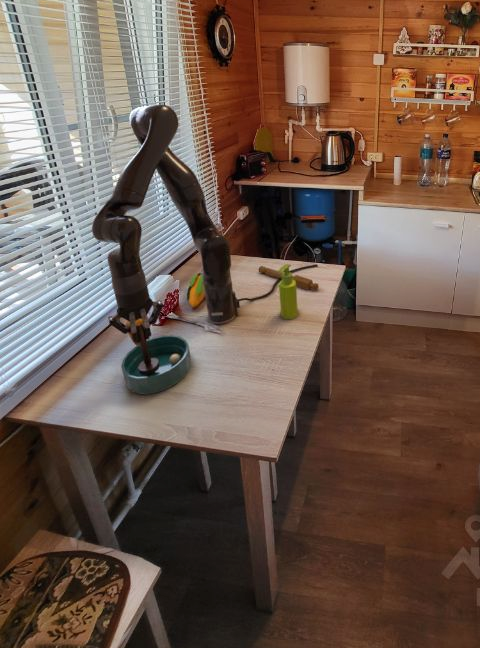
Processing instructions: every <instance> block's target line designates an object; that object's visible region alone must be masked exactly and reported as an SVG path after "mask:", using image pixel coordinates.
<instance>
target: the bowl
mask: <svg viewBox="0 0 480 648" xmlns="http://www.w3.org/2000/svg"><path fill="white" fill-rule="evenodd" d="M147 344H148V348H149V352H150V357H151V358H156V359H158V361H159V368H158V370H157V371H156V372H154V373H152V374H150V375H141V374H140V373H139V369H138V366H139V364H140V363H141V362H142V361H144V360H143V355H142V351H141V347H140V344H139V345H137V346H136V345H135V346H134V347H133V348H131V350H130V351H128V352H127V353H126V355H125V356H124V358H123V359H122V362H121V365H120V368H121V371H122V375H123V379H124V382H125V386H126V388H127V389H129V390H130V392H132V393H134V394H135V393H136V394H138V395H149V394H155V393H158V392H159V393H160V392H163V391H164V390H167V389H169V388H171V387H172V386H175V385H176V384H178V382H180V381H182V379H184V377H185V376H186V375H187V374H188V372H189V371H190V368H191V367H192V357H191V352H190V346H189V343H188V341H187V340H186V339H185V338H183V337H181V336H178V335H173V334H170V335H160V336H155V337H152V338H149V339H147ZM173 354H178V355H179V356H180V361H179V362H178V363H177V364H175V365H173V364H171V363H170V361H169V359H170V357H171V355H173Z"/></svg>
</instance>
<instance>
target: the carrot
mask: <svg viewBox="0 0 480 648" xmlns="http://www.w3.org/2000/svg"><path fill="white" fill-rule="evenodd" d="M135 322H136V326H137V325H138V324H142V325H143V321H142V319H138V320H136V321H135ZM125 325H126V326H129V321H127V320H126V323H125ZM128 336H129V338H130V340H131V341H132V343H133V344H134V345H135V347H136V346H137V345H139V344H140V343H137V342H134V341H133V339H132V335H131V333H128Z"/></svg>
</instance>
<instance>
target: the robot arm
mask: <svg viewBox="0 0 480 648" xmlns="http://www.w3.org/2000/svg"><path fill="white" fill-rule="evenodd" d="M129 124H130V128H131V130H132V132H133V134H134V136H135V137H136V139H137V141H138V142H139V143H140V145H141V147H140V149H139V150H138V151H136V152H137V153H136V154H135V155H134V156H133V157H132V158H131V159H130V161H128V163H127V164H126V165H125V166H124V168H123V169H122V171H121V173H120V174H119V177H118V179H117V182H116V184H115V186H114V190H113V192H112V195H111V196H110V198H108V200H106V202H105V204H104V205H103V206H102V208H101V209H100V210H99V211H98V213H97V214H96V215H95V217H94V218H93V221H92V225H91V233H92V236H93V237H94V239H95V240H96V241H99V242H101V243H109V244H118V245H119V247H118V248H115V249H113V250H111V251H110V252H109V253H108V254H107V257H106V258H107V265H108V269H109V273H110V276H111V277H110V278H111V285H112V286H111V287H112V289H113V290H112V291H113V292H114V297H115V301H116V305H117V309H116V313H115V314H114V315H110V316H108V318H107V320H108V323H109V325H110V326H112V327H113V328H115V329H116V330H117V331H119V332H121V333H122V334H123V335H127V334H129V333H131V335H132V339H133V341H134V342H137V343H139V342H140V340H139V336H138V332H137V330H136V322H135V321H136V320H138V319H142V321H143V326H144V331H145V335H146V339H147V340H150V337H152V331H151V326H152V325H155V324H156V323H157V322H158V320H159V317H160V316H161V313H160V312H161V310H162V308H164V304H163V302H162V300H157V301H155V300H154V301H153V299H152V298H151V297H150V292H149V288H148V282H147V278H146V274H145V272H144V270H143V264H142V261H141V256H140V253H141V251H140V250H141V241H142V231H143V229H142V224H141V223H140V221H139V219H137V218H136V217H134V216H132V215H126V214H127V213H128V212H131V211H135V210H139V209H141V207H142V206H143V204H144V202H145V198H146V196H147V193H148V190H149V188H150V185H151V182H152V180H153V176H154V174H155V172H157V174H158V175H159V177H160V179H161V181H162V183H163V184H164V188H165V189H166V192H167V193H168V195H169V197H170V200H171V201H172V203H173V205H174V206H175V208H176V210H177V211H178V213H179V215H180V216H181V218H183V220H184V222H185V224H186V226H187V227H188V230H189V233H190V235H191V238H192V242H193V245H194V247H195V249H196V250H197V252H198V253H199V254H200V257H201V265H202V268H201V271H200V273H201V274H202V280H203V286H204V293H205V296H204V300H205V305H206V312H207V318H208V323H212V324H214V325H224V324H227V323H230V322H231V321H233V320H235V318H236V317H237V316H239V313H238V308H241V305H240V304H241V303H240V302H242V301H249V302H251V301H257V300H260V299H264V298H265V297H267V296H270V294H272V293H273V291H274V290H275V288H276V286H277V284H279V282H280V281H281V279H280V278H278V279H276V281H275V282H274V283H273V285H272V288H271V289H270V291H268V292H267V293H265V294H263V295H260V296H256V297H252V298H249V297H243V298H237V296H236V292H235V291H234V290H233V289H234V288H233V282H232V274H231V268H232V257H231V256H232V255H231V247H230V243H229V240H228V239H227V237H225V235H223V234H222V232H221V231H220V230H219V229H218V228H217V226H216V224H214V222H213V220H212V218H211V216H210V215H209V211H208V209H207V201H206V197H205V193H204V190H203V188H202V186H201V184H200V181H199V179H198V177H197V175H196V174H195V171H193V170H192V168H190V167H189V166H188V165H187V164H186V163H185V162H184V161H183V160H181V158H179V157H178V156H177V155H176V154H175V153H174V152H173V150H172V149H171V148H170V147H169V146H170V144H171V143H172V141H173V139H174V137H175V136H176V134H177V132H178V129H179V118H178V115H177V113H176V111H175V110H174V109H173V108H172V107H171V106H169V105H166V104H154V105H147V106H146V105H145V106H141V107H137V108H134V109H133V110H132V111H131V112H130V114H129ZM315 267H318V264H312V265H305V266H301V267H298V268H294V269H291V270H289V272H290V273H291V274H292V273H293V272H297V271H299V270H304V269H309V268H315ZM151 309H153V310H151ZM150 311H152V312H151V314H150V316H149V317H148V315H149V313H150ZM120 318H122V319H124V320H125V321H126V322H127V321H129V326H126V324H124V322H121V319H120ZM132 339H131V340H132ZM133 341H132V342H133Z"/></svg>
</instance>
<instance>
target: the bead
mask: <svg viewBox="0 0 480 648" xmlns="http://www.w3.org/2000/svg"><path fill="white" fill-rule="evenodd" d="M169 361H170V363H171V364H173V365H175V364H177V363H178V362H179V361H180V356H179V355H178V354H173V355H171V357H170V359H169Z"/></svg>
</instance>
